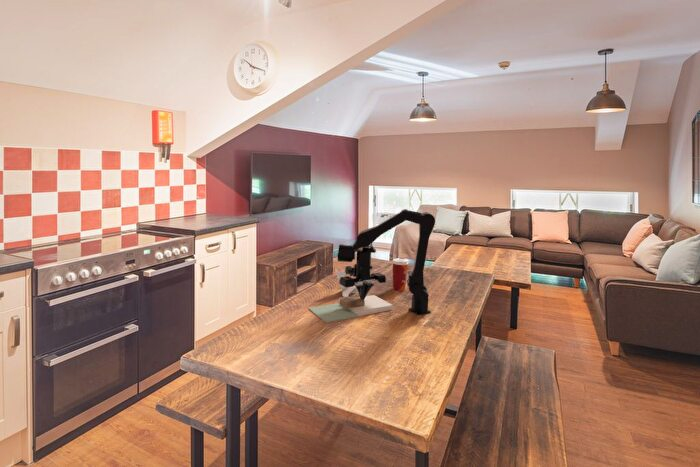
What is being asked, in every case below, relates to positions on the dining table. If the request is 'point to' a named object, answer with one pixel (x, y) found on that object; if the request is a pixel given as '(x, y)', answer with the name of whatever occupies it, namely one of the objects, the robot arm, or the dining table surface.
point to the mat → (333, 312)
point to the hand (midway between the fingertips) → (362, 300)
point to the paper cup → (399, 274)
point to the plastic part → (345, 289)
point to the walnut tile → (352, 302)
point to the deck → (372, 306)
